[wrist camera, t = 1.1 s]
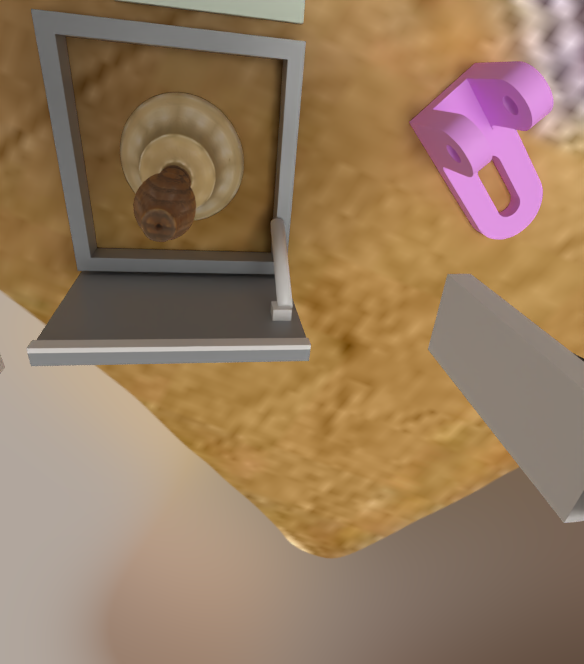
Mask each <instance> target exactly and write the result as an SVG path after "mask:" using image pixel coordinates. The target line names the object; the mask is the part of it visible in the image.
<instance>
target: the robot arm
mask: <svg viewBox="0 0 584 664" xmlns="http://www.w3.org/2000/svg"><path fill="white" fill-rule="evenodd" d="M428 350H429V351H430V353H431V354H432V355H433V356H434V358H435V359H436V360H437V361H438V363H439V364H440V365H441V367H442V368H443V369H444V370H445V372H446V373H447V374H448V376H449V377H450V378H451V379H452V381H453V382H454V383H455V384H456V386H457V387H458V388H459V390H460V391H461V392H462V393H463V395H464V396H465V397H466V399H467V400H468V401H469V402H470V404H471V405H472V406H473V407H474V409H475V410H476V411H477V413H478V414H479V415H480V416H481V418H482V419H483V420H484V422H485V423H486V424H487V425H488V427H489V428H490V429H491V430H492V432H493V433H494V434H495V436H496V437H497V438H498V439H499V441H500V442H501V443H502V445H503V446H504V447H505V448H506V450H507V451H508V452H509V453H510V455H511V456H512V457H513V459H514V460H515V461H516V462H517V464H518V465H519V466H520V468H521V469H522V470H523V471H524V473H525V474H526V475H527V476H528V478H529V479H530V480H531V482H532V483H533V484H534V485H535V487H536V488H537V489H538V491H539V492H540V493H541V494H542V495H543V497H544V498H545V499H546V501H547V502H548V503H549V505H550V506H551V507H552V508H553V509H554V511H555V512H556V514H557V515H558V516H559V517H560V519H561V520H562V521H563V522H564V523H569V522H577V521H584V359H583V358H581V357H579V356H578V355H576V354H574V353H572V352H571V351H569V350H568V349H567V348H565V347H564V346H563V345H562V344H560V343H559V342H558V341H556V340H555V339H554V338H553V337H551V336H550V335H549V334H547V333H546V332H545V331H544V330H542V329H541V328H540V327H538V326H537V325H536V324H534V323H533V322H532V321H531V320H529V319H528V318H527V317H525V316H524V315H523V314H522V313H520V312H519V311H518V310H516V309H515V308H514V307H513V306H511V305H510V304H509V303H507V302H506V301H505V300H504V299H502V298H501V297H500V296H498V295H497V294H496V293H495V292H493V291H492V290H491V289H489V288H488V287H487V286H485V285H484V284H483V283H482V282H480V281H479V280H478V279H476V278H475V277H474V276H473V275H471V274H448V275H447V279H446V283H445V286H444V290H443V294H442V298H441V302H440V305H439V309H438V313H437V317H436V321H435V325H434V328H433V332H432V336H431V340H430V344H429V347H428ZM4 368H5V366H4V364H3V361H2V358H1V355H0V373H1V372H2V371H3V369H4Z"/></svg>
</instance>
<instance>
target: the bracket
mask: <svg viewBox="0 0 584 664" xmlns="http://www.w3.org/2000/svg"><path fill="white" fill-rule="evenodd" d="M552 108H553V96H552V92H551V90H550V87H549V85H548V84H547V82H546V80H545V79H544V78H543V76H542V75H541V74H540V73H539V72H538V71H537V70H536V69H535V68H534V67H532V66H531V65H529V64H527V63H525V62H520V61H517V62H489V63H474V64H473V65H472V66H471V67H470V68H469V69H468V70H467V71H465V72H464V73H463V74H462V75H461V76H460V77H459V78H458V79H457V80H455V81H454V82H453V83H452V84H451V85H450V86H449V87H448V88H447V89H445V90H444V91H443V92H442V93H441V94H440V95H439V96H438V97H437V98H435V99H434V100H433V101H432V102H431V103H430V104H429V105H428V106H426V107H425V108H424V109H423V110H422V111H421V112H420V113H419V114H418V115H416V116H415V117H414V118H413V119H412V120H411V121H410V122H409V123H410V125H411V127H412V128H413V130H414V132H415V133H416V135H417V136H418V138H419V140H420V141H421V143H422V145H423V146H424V148H425V150H426V151H427V153H428V154H429V156H430V158H431V159H432V161H433V163H434V164H435V166H436V168H437V169H438V171H439V172H440V174H441V176H442V177H443V179H444V181H445V182H446V184H447V186H448V187H449V189H450V190H451V192H452V194H453V195H454V197H455V199H456V200H457V202H458V204H459V205H460V207H461V208H462V210H463V212H464V213H465V215H466V217H467V218H468V220H469V222H470V223H471V225H472V226H473V227H474V228H475V229H476V230H477V231H478V232H480V233H482V234H483V235H485V236H487V237H489V238H492V239H506V238H509V237H512V236H514V235H516V234H518V233H519V232H521V231H522V230H524V229H525V228H526V227H527V226H528V225H529V224H530V223H531V221H532V220H533V219H534V217H535V216H536V214H537V212H538V210H539V208H540V205H541V202H542V196H543V189H542V184H541V182H540V179H539V177H538V175H537V173H536V171H535V169H534V167H533V164H532V162H531V160H530V158H529V156H528V154H527V152H526V149H525V147H524V145H523V143H522V141H521V139H520V137H519V135H518V132H517V130H521V131H527V130H529V129H530V128H531V127H533V126H534V125H535V124H536V123H537V122H539V121H540V120H541V119H542V118H543V117H545V116H546V115H547V114H548V113H549V112H550V111H551V110H552ZM491 160H493V162H494V164H495V166H496V168H497V170H498V172H499V174H500V175H501V177H502V179H503V181H504V183H505V185H506V187H507V189H508V191H509V193H510V195H511V201H510V204H509V205H508V207H507V208H506V209H505V210H504V211H502V212H499V213H498V211H497V209H496V207H495V205H494V204H493V202H492V200H491V198H490V196H489V195H488V193H487V191H486V189H485V187H484V186H483V184H482V182H481V180H480V178H479V177H478V171H479V170H480V169H482V168H483V167H484V166H485V165H486V164H488V163H489V162H490V161H491Z"/></svg>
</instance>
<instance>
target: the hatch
mask: <svg viewBox="0 0 584 664" xmlns="http://www.w3.org/2000/svg"><path fill="white" fill-rule="evenodd" d="M31 13H32V18H33V24H34V29H35V35H36V41H37V46H38V52H39V57H40V63H41V68H42V74H43V80H44V85H45V91H46V96H47V102H48V107H49V113H50V119H51V124H52V130H53V135H54V141H55V146H56V152H57V158H58V163H59V169H60V174H61V180H62V185H63V191H64V197H65V202H66V208H67V213H68V219H69V224H70V230H71V236H72V241H73V247H74V252H75V258H76V263H77V269H78V271H82V272H81V273H80V275H79V276H78V278H77V279H76V281H75V282H74V284H73V285H72V287H71V288H70V290H69V291H68V293H67V294H66V296H65V298H64V299H63V301H62V302H61V304H60V305H59V307H58V308H57V310H56V311H55V313H54V314H53V316H52V317H51V319H50V320H49V322H48V323H47V325H46V326H45V328H44V329H43V331H42V332H41V334H40V336H39V337H38V338H37V340H32V341H31V342H30V344H29V345H28V347H27V353H28V356H29V360H30V364H31V366H59V365H113V364H165V363H218V362H271V361H309V355H310V348H311V344H310V341H309V339H308V338H306V336H305V333H304V330H303V327H302V325H301V322H300V319H299V316H298V313H297V311H296V308H295V305H294V302H293V299H292V294H291V284H290V274H289V264H288V243H289V232H290V220H291V208H292V196H293V185H294V173H295V161H296V150H297V138H298V126H299V115H300V103H301V91H302V80H303V68H304V56H305V45H306V41H298V40H289V39H281V38H272V37H264V36H255V35H247V34H239V33H230V32H222V31H213V30H205V29H196V28H188V27H180V26H171V25H163V24H154V23H146V22H137V21H129V20H121V19H112V18H104V17H95V16H87V15H79V14H70V13H62V12H53V11H45V10H36V9H31ZM65 36H66V37H75V38H84V39H93V40H102V41H112V42H121V43H130V44H139V45H148V46H157V47H166V48H175V49H185V50H194V51H203V52H212V53H221V54H230V55H239V56H248V57H258V58H267V59H276V60H283V72H282V87H281V103H280V118H279V134H278V149H277V165H276V180H275V196H274V211H273V220H272V221H271V223H270V225H271V237H272V242H271V253H266V252H229V251H192V250H156V249H119V248H97V243H96V237H95V230H94V223H93V217H92V210H91V203H90V197H89V190H88V184H87V177H86V170H85V164H84V157H83V150H82V144H81V137H80V130H79V124H78V117H77V110H76V104H75V97H74V90H73V84H72V77H71V71H70V64H69V57H68V51H67V44H66V37H65Z"/></svg>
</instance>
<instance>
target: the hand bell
mask: <svg viewBox="0 0 584 664" xmlns="http://www.w3.org/2000/svg"><path fill="white" fill-rule="evenodd" d="M120 158H121V164H122V169H123V172H124V175H125V177H126V179H127V181H128V183H129V185H130V187H131V188H132V190H133V191H134V193H135V194H136V195H135V198H134V204H133V206H134V214H135V218H136V220H137V223H138V225H139V226H140V227H141V229H142V230H143V232H144V234H145V235H146V236H147V238H149V239H150V240H153V241H158V242H166V241H168V240H172V239H175V238H177V237H180V236H181V235H183V234H184V233H185V232H186V231H187V230H188V229H189V228H190V226H191V225H192V223H193V221H194V220H200V219H204V218H207V217H210V216H212V215H214V214H216V213H218V212H219V211H221V210H222V209H223V208H225V207H226V206H227V205H228V203H229V202H230V201H231V200H232V199H233V197H234V196H235V194H236V193H237V191H238V189H239V186H240V183H241V180H242V176H243V169H244V156H243V150H242V146H241V142H240V139H239V137H238V134H237V132H236V131H235V129H234V127H233V125H232V124H231V122H230V121H229V120H228V118H227V117H226V116H225V115H224V114H223V113H222V112H221V111H220V110H219V109H218V108H217V107H216V106H214V105H213V104H211V103H210V102H208V101H206V100H205V99H202V98H200V97H198V96H195V95H191V94H187V93H177V92H173V93H164V94H161V95H157V96H153V97H151V98H149V99H148V100H147V101H145V102H143V103H142V104H141V105H139V106H138V107H137V108H136V109H135V110H134V112H133V113H132V114H131V115H130V117H129V118H128V120H127V122H126V124H125V126H124V129H123V132H122V136H121V142H120Z"/></svg>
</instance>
